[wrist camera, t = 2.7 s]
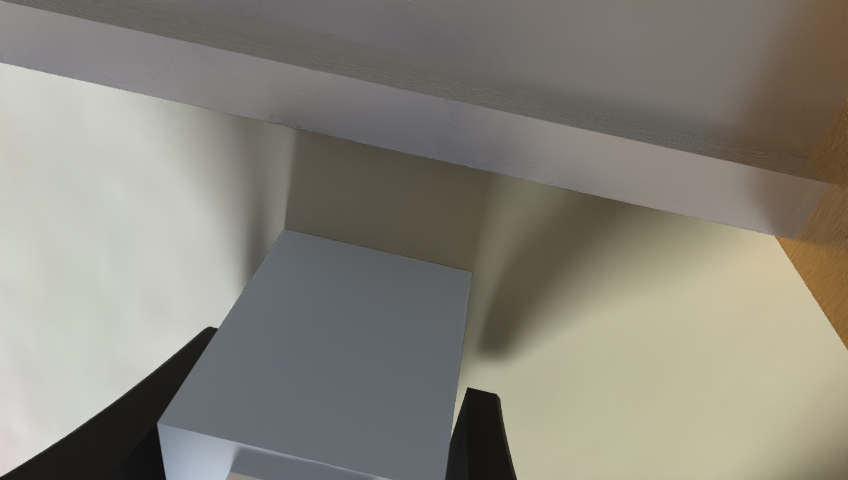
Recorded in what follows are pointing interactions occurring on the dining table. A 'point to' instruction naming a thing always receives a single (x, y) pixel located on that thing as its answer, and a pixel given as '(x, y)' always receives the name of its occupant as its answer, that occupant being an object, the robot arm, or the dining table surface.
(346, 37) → the rail bed
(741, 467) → the dining table surface
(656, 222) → the dining table surface
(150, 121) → the dining table surface
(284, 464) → the block
